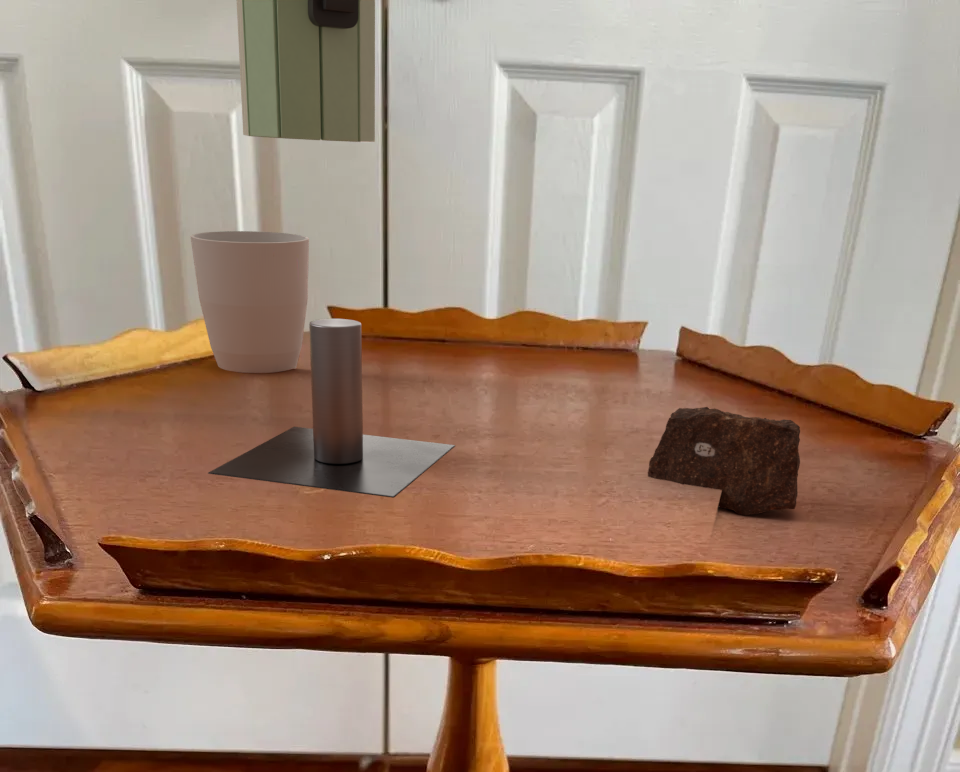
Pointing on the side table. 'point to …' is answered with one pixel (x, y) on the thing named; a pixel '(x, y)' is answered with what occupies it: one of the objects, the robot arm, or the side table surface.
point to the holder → (337, 430)
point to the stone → (731, 458)
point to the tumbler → (306, 73)
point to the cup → (253, 297)
